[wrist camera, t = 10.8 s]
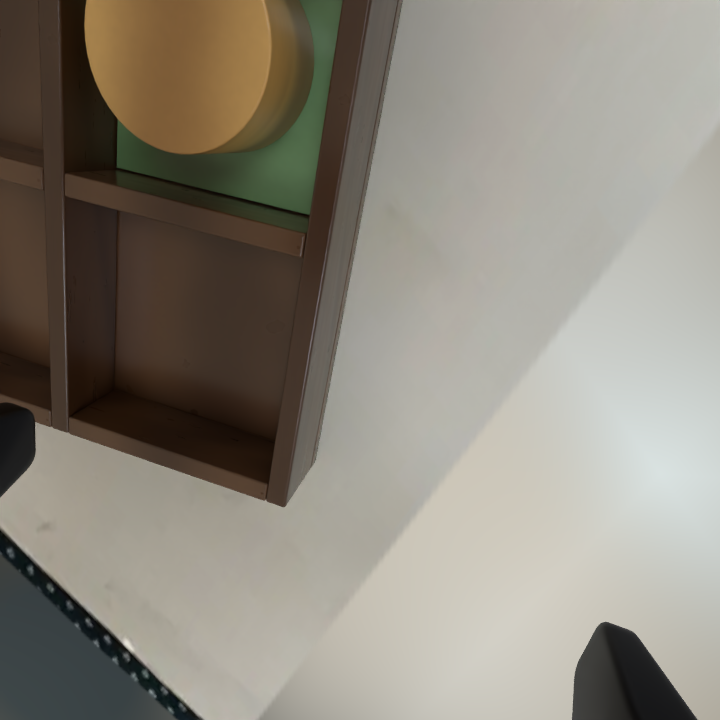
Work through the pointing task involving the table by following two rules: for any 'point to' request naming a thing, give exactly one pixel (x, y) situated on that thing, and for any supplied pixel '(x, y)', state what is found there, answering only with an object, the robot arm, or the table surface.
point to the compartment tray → (181, 255)
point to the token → (202, 70)
